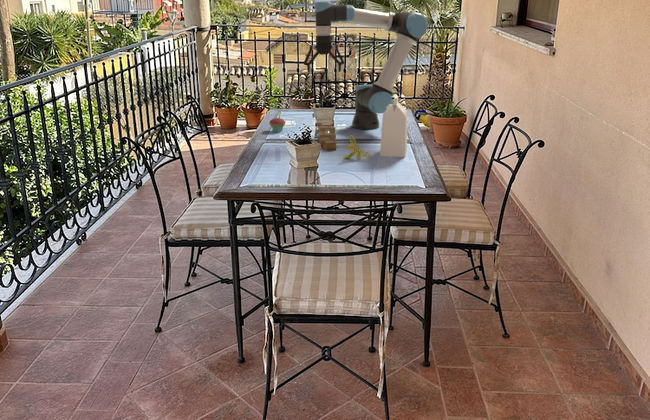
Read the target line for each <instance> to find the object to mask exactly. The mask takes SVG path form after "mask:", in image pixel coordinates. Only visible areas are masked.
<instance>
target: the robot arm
mask: <svg viewBox="0 0 650 420" xmlns="http://www.w3.org/2000/svg"><path fill="white" fill-rule="evenodd" d="M314 8H315V9H314V10H315V11H314V14H315V15H314V16H315V34H316V35H315V45H312V44H310V45H309V50H308V52H307V55H306V57H305V59H304V61H303V65H305V66H306V68H307V73H309V80H311V81H312V77H313V76H312V63H313V62H314V61H315V60H316V58H317V57H318V56H319V55H321V56H322V55H330V57H332V59H333V60H334V62H335V63H336V79H337V80H339V78H340V74H339V73H340V72H341V71H342V65H344V64H345V61H344V59H343V57H342V54H341V53H340V51H339V46H338V44H334V45H332V35H331V34H332V23H334V22H335V23H336V22H341V23H342V22H344V23H348V24H349V23H351V24H355V25H361V26H366V27H367V26H369V27H374V28H380V29H384V30H385V31H387V32H392V33H395V35H396V39H395V42H394V44H393V46H392V49H391V51H390V53H389V55H388V57H387V60H386V62H385V64H384V66H383V68H382V70H381V73H380V75H379V77H378V79H377V81H374V82H373V83H372V84H359V85H357V86H356V87H355V111H354V116H353V119H352V121H351V127H352V128H354V129H359V130H374V129H379V127H380V122H379V121H380V120H379V118H378V114H380V115H381V114H384V112H385V110H386V107H387V106H388V105H389V104H391V105H392V104H393V98H392V96H393V94H394V90H393V88H394V85H395V82H396V81H397V78H398V76H399V74H400V72H401V70H402V68H403V66H404V63H405V62H406V59H407V57H408V55H409V53H410V51H411V48H412V47H413V46H414V45H416V44H417V43H418V40H419V39H420V38H421V37H422V36H424V35H425V34H426V32H427V31H428V22H427V18H426V17H425V16H424V14H422V13H419V12H415V11H414V12H410V11H409V12H408V11H400V12H399V11H398V12H396V11H395V12H394V11H388V12H381V11H375V10H370V9H369V10H368V9H363V8H358V7H357V8H355V7H354V6H353V5H352V4H332V3H331V1H329V0H328V1H326V0H325V1H324V0H323V1H316V2H315V5H314ZM332 49H333V50H335V52H336V54H337V56H338V58H339V59H338V58H337V57H336V56H335V54H333V52H332V51H331V50H332ZM314 50H316V52H315V53H314V55H313V56H312V57H311V54H312V52H313V51H314ZM310 57H311V59H309V58H310ZM339 60H340V61H339Z"/></svg>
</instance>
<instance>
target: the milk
mask: <svg viewBox="0 0 650 420" xmlns="http://www.w3.org/2000/svg"><path fill="white" fill-rule="evenodd" d="M406 151H408V111H407V110H406V108H405V107H404V106H403V105H402V104H401V103H400V102H399V96H398V95H395V96H394V97H393V102H392V105H391V104H389V105H388V106H387V107H386V110H385V112H384V113H382V121H381V133H380V150H379V157H392V156H394V158H395V157H396V158H406V154H407V152H406Z"/></svg>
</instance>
